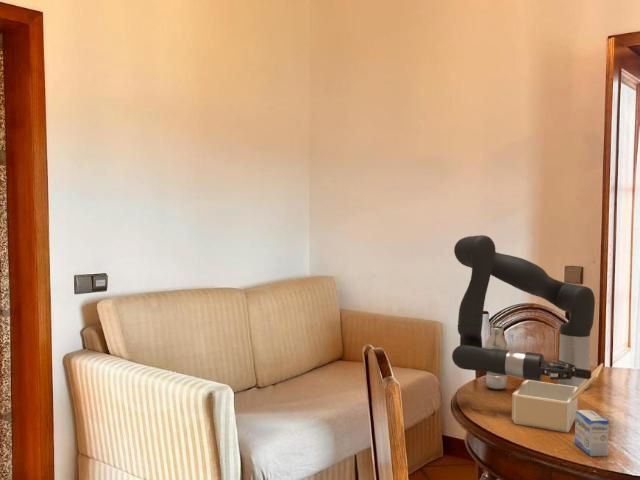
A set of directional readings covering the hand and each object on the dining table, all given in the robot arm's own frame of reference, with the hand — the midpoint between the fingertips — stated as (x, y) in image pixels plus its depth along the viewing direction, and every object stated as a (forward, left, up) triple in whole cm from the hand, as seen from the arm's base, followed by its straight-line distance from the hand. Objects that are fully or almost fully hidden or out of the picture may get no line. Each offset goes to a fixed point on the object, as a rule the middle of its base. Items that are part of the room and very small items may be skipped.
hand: (590, 374), depth 169 cm
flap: (0, -1, -2) cm, 2 cm away
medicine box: (+15, +9, -14) cm, 22 cm away
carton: (+4, -10, -14) cm, 18 cm away
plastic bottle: (-9, -36, -14) cm, 40 cm away
